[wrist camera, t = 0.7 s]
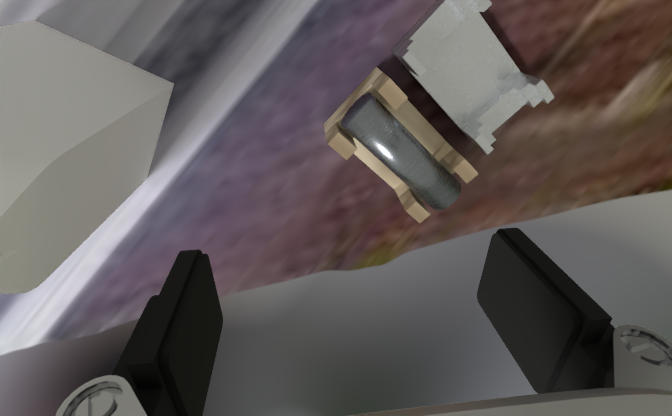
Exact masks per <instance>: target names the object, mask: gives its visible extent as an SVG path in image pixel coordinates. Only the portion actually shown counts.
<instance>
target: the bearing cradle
mask: <svg viewBox="0 0 672 416" xmlns="http://www.w3.org/2000/svg"><path fill="white" fill-rule="evenodd" d="M368 92H371V93H372V94H373V95H374V96H375V97H376V98H377V99H378V100H379V101H380V102H381V103H382V104H383V105H384V106H385V107H386V108H387V109H388V110H389V111H390V112H391V113H392V114H393V115H394V116H395V118H396V119H397V120H398V121H399V122H400V123H401V124H402V125H403V126H404V127H405V128H406V129H407V130H408V131H409V132H410V133H411V134H412V135H413V136H414V137H415V138H416V139H417V140H418V141H419V142H420V143H421V144H422V145H423V146H424V147H425V148H426V149H427V150H428V151H429V152H430V153H431V154H432V155H433V156H434V157H435V158H436V159H437V160H438V161H439V162H440V163H441V164H442V165H443V166H444V167H445V168H446V169H447V170H448V171H449V172H450V173H451V174H454V173H455V172H456V173H457V174H458V175H459V176H460V177H461V178H462V179H463V180H464V181H465V182H466V183H468V182H469V181H471V180H472V179H473V178H474V177H475V176H477V175H478V173H477V171H476V170H475V169H474V168H473V167H472V166H471V165H470V164H469V163H468V162H467V161H466V160H465V159H464V158H463V157H462V156H461V155H460V154H459V153H458V152H457V151H456V150H455V149H454V148H453V147H452V146H451V145H450V144H448V143H447V142H446V141H445V140H444V138H443V137H442V136H441V135H440V134H439V133H438V132H437V131H436V130H435V129H434V128H433V127H432V126H431V124H430V123H429V122H428V121H427V120H426V119H425V118H424V117H423V116H422V115H421V114H420V113H419V112H418V111H417V109H416V108H415V107H414V106H413V105H412V104H411V103H410V102H409V101H408V100H407V98H408V97H407V96H406V95H405V94H404V93H403V92H402V90H401V89H400V88H399V87H398V86H397V85H396V84H395V83H394V82H393V81H392V80H391V79H390V78H389V77H388V76H387V75H386V74H384V73H383V72H382V71H381V70H380V69H378V68H377V67H376V68H375V69H374V70H373V71H372V72H371V73H370V74H369V75H368V76H367V78H366V79H365V80H364V81H363V82H362V83H361V84H360V85H359V86H358V87H357V88H356V90H355V91H354V92H353V93H352V94H351V95H350V96H349V97H348V98H347V99H346V100H345V102H344V103H343V104H342V105H341V106H340V107H339V108H338V109H337V110H336V111H335V112H334V113H333V115H332V116H331V117H330V118H329V119H328V120H327V121H326V122H325V123H324V129H325V134H326V138H327V143H328V144H329V145H330V146H331V147H332V148H333V149H334V150H335V151H337V152H338V153H339V154H340V155H341V156H342V157H344V158H345V159H346V160H347V159H348V158H349V157H350V156H351V155H352V154H353V153H354V154H355V155H356V156H357V157H358V158H359V159H361V160H362V161H363V162H364V163H365V164H366V165H367V166H369V167H370V168H371V169H372V170H373V171H374V172H375V173H376V174H378V175H379V176H380V177H381V178H382V179H383V180H384V181H385V182H387V183H388V184H389V185H390V186H391V187H392V188H393V189H394V190H395V191H396V193H397V195H398V197H399V199H400V201H401V203H402V205H403V207H404V209H405V211H406V212H407V213H409V214H410V215H411V216H412V217H413V218H414V219H416V220H417V221H418V222H419V223H421V222H422V221H423V220H424V219H426V218H427V217H428V216H429V215H430V213H429V212H428V210H427V208H426V207H425V205H424V204H423V202H422V199H421V198H420V197H419V196H418V195H417V194H416V193H415V192H414V191H413V190H412V189H410V188H409V187H408V186H407V185H406V184H405V183H404V182H403V181H402V180H401V179H399V178H398V177H397V176H396V175H395V174H394V173H393V172H392V171H391V170H390V169H388V168H387V167H386V166H385V165H384V164H383V163H382V162H381V161H380V160H379V159H378V158H376V157H375V156H374V155H373V154H372V153H371V152H370V151H369V150H368V149H367V148H365V147H364V146H363V145H362V144H361V143H360V142H359V141H358V140H357V139H356V138H354V137H353V136H352V135H351V134H350V133H349V132H348V131H347V130H346V129H345V128H344V127H342V126H341V121H342V119H343V117H344V115H345V113H346V112H347V110H348V109H349V108H350V107H351V105H352V104H353V103H354V102H355V101H356V100H357V99H359V98H360V97H361V96H362V95H364V94H366V93H368Z"/></svg>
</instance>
